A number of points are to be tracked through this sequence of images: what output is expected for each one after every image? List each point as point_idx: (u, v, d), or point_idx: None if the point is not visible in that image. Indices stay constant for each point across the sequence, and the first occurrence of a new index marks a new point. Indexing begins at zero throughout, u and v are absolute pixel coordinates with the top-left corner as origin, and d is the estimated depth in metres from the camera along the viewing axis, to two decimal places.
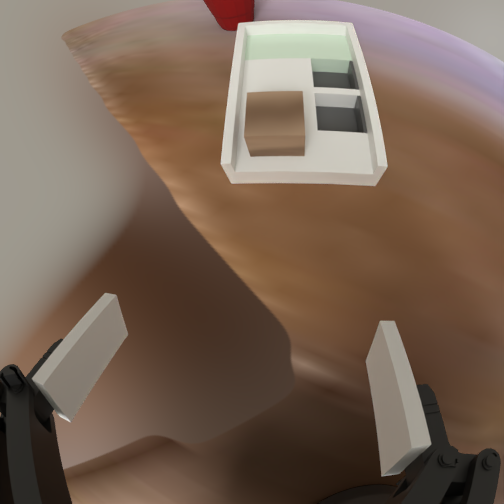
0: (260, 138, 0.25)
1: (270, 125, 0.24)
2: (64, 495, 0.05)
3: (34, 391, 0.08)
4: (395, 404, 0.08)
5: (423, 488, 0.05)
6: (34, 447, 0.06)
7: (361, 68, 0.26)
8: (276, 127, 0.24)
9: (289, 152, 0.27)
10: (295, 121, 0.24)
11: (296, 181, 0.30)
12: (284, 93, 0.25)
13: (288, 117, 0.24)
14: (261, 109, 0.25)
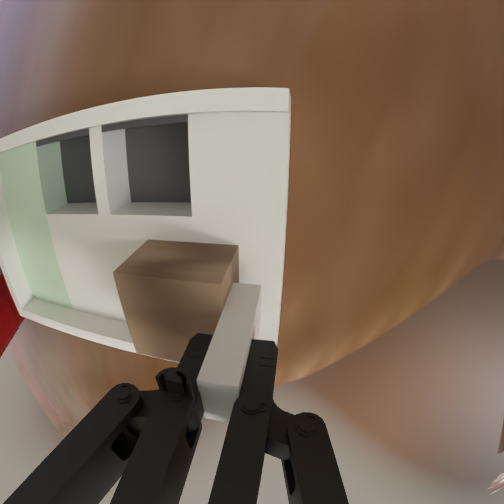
0: None
1: None
2: None
3: (194, 394, 0.09)
4: None
5: (237, 439, 0.07)
6: (167, 471, 0.06)
7: (44, 132, 0.12)
8: (205, 327, 0.13)
9: (236, 276, 0.16)
10: (187, 296, 0.13)
11: None
12: (126, 303, 0.13)
13: (178, 306, 0.13)
14: (169, 342, 0.14)
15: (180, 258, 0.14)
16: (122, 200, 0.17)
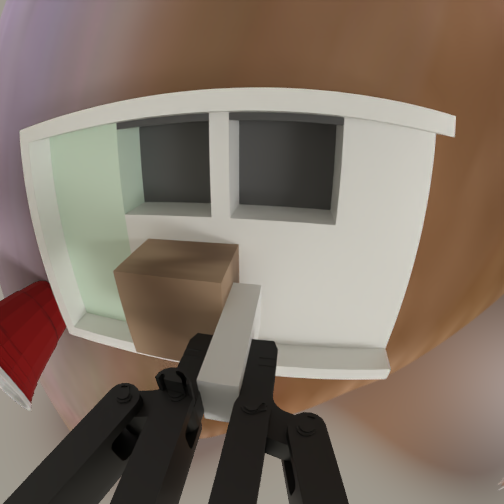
0: None
1: None
2: None
3: (194, 394, 0.09)
4: None
5: (237, 439, 0.07)
6: (167, 471, 0.06)
7: (153, 109, 0.11)
8: (205, 326, 0.13)
9: (236, 275, 0.16)
10: (188, 294, 0.13)
11: None
12: (126, 301, 0.13)
13: (179, 305, 0.13)
14: (169, 341, 0.14)
15: (181, 257, 0.14)
16: (235, 202, 0.16)
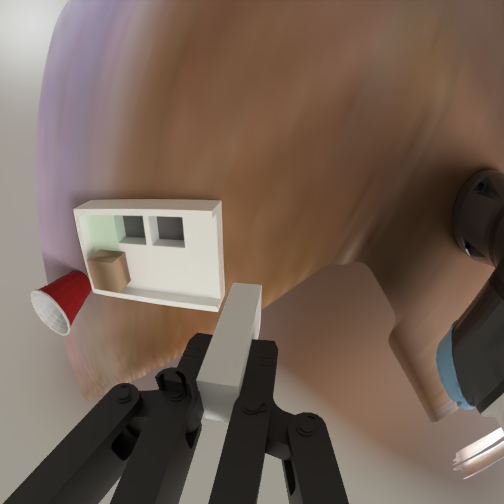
0: (119, 284, 0.42)
1: (110, 279, 0.41)
2: None
3: (193, 394, 0.09)
4: None
5: (237, 439, 0.07)
6: (167, 471, 0.06)
7: (123, 213, 0.38)
8: (111, 277, 0.41)
9: (124, 262, 0.43)
10: (105, 266, 0.41)
11: (222, 257, 0.44)
12: (90, 269, 0.41)
13: (104, 270, 0.41)
14: (103, 283, 0.42)
15: (106, 256, 0.42)
16: (156, 238, 0.43)
